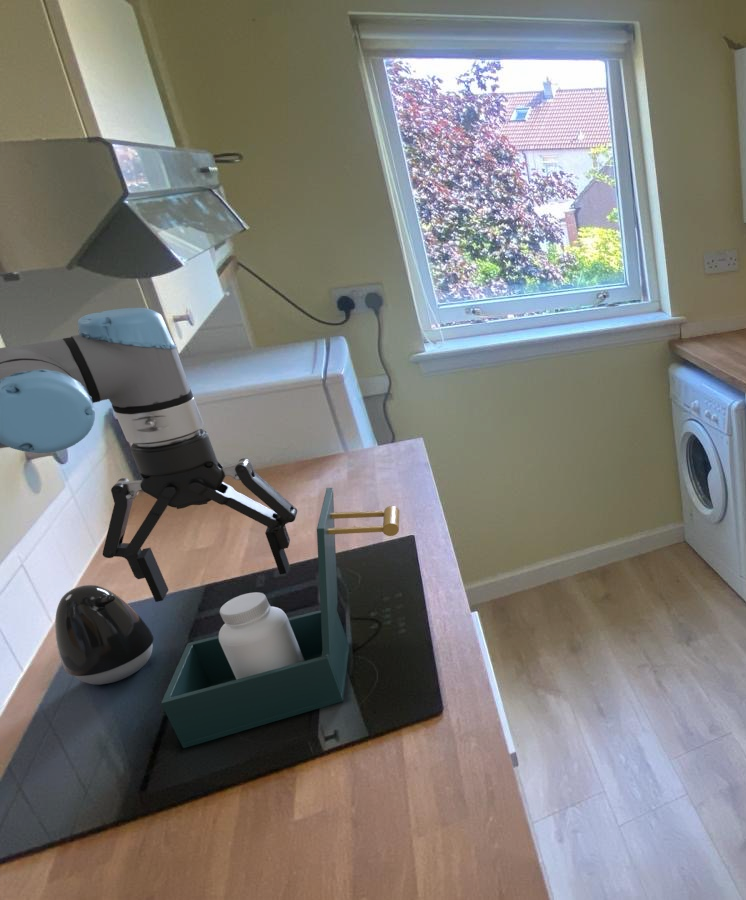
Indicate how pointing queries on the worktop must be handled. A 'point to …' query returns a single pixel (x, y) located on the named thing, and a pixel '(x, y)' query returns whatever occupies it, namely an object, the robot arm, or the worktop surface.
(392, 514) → the bin lid
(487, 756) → the worktop surface
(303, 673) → the bin
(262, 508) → the robot arm
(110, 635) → the black rounded egg shape
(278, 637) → the pill bottle
